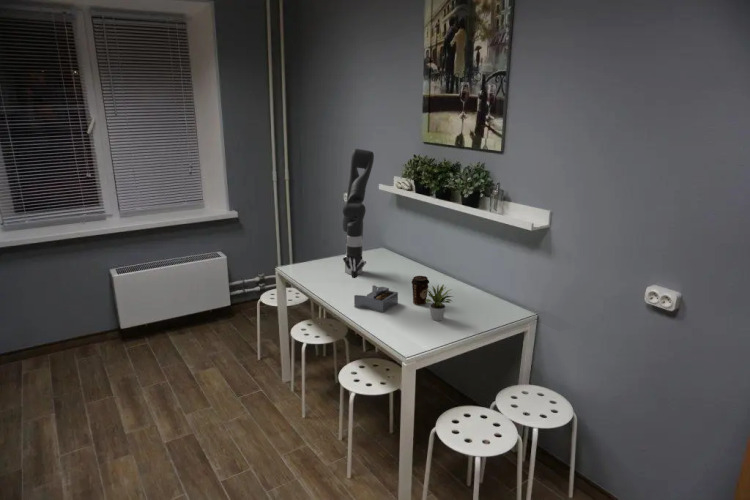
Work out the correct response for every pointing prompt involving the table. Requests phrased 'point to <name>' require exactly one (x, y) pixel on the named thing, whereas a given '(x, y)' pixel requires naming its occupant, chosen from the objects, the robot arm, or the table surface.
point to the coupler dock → (374, 303)
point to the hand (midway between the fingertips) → (354, 277)
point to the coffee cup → (420, 289)
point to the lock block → (382, 296)
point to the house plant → (438, 303)
